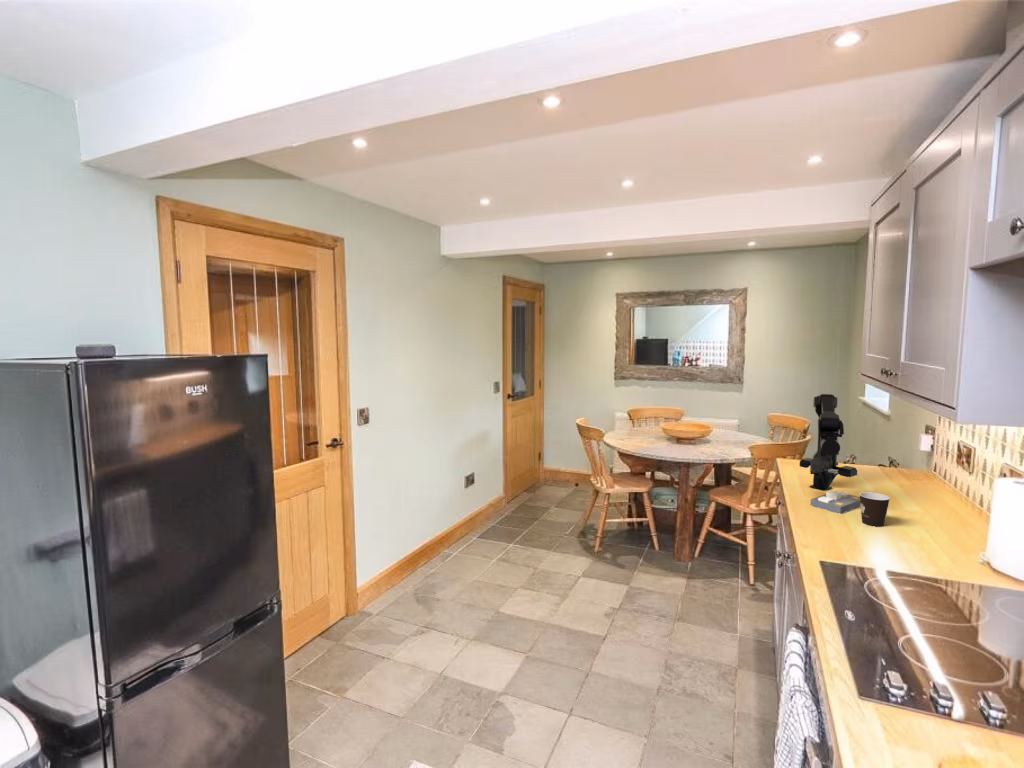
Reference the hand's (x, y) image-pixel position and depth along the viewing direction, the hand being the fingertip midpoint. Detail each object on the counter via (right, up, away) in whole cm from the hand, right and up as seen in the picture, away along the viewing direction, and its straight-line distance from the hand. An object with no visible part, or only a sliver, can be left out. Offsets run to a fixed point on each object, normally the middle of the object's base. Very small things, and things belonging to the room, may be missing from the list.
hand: (826, 488), depth 196 cm
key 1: (0, -7, +1) cm, 7 cm away
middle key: (+5, -5, +4) cm, 8 cm away
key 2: (+10, -6, +7) cm, 14 cm away
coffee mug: (+7, -9, -15) cm, 19 cm away
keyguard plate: (+6, -7, +3) cm, 9 cm away
